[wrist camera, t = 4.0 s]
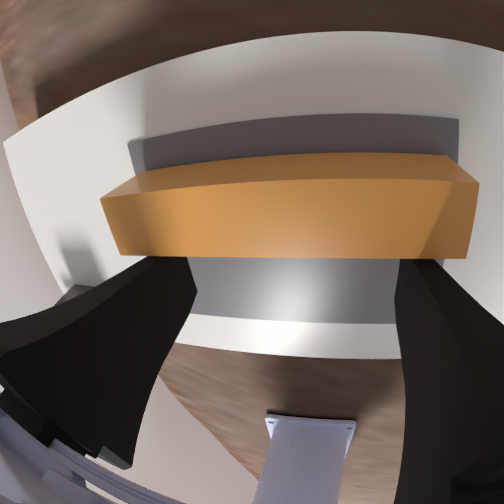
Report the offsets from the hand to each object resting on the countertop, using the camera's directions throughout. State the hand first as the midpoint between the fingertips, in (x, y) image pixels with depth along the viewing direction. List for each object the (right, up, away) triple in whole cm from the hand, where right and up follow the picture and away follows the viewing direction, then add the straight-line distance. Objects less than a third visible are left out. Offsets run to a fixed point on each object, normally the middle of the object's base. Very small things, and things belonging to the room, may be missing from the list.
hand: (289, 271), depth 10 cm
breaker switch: (0, +3, -1) cm, 3 cm away
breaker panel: (+1, +3, +3) cm, 4 cm away
